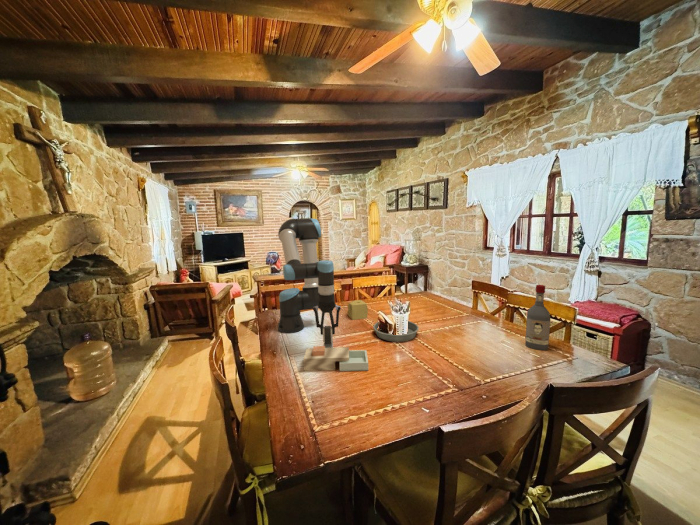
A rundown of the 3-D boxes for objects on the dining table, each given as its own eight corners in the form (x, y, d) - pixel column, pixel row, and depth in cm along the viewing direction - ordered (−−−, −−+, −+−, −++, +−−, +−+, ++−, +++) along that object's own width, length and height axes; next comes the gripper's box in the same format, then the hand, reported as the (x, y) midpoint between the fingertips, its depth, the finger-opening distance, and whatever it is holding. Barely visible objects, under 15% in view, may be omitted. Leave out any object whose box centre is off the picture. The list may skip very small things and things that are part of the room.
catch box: (339, 371, 121) (339, 363, 120) (340, 357, 133) (340, 350, 132) (368, 370, 121) (368, 362, 121) (366, 357, 133) (366, 350, 132)
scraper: (323, 355, 136) (322, 331, 134) (325, 346, 146) (324, 323, 144) (331, 355, 136) (331, 330, 134) (332, 346, 146) (332, 323, 144)
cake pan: (403, 323, 176) (403, 316, 175) (427, 338, 153) (428, 330, 152) (366, 330, 167) (366, 322, 166) (386, 346, 144) (386, 338, 144)
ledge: (304, 371, 122) (303, 358, 121) (307, 359, 132) (306, 348, 131) (349, 369, 122) (348, 357, 121) (349, 358, 132) (348, 347, 131)
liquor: (525, 340, 147) (529, 282, 142) (547, 344, 142) (551, 284, 138) (525, 347, 139) (529, 286, 135) (548, 351, 134) (553, 288, 130)
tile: (312, 355, 124) (312, 351, 123) (313, 350, 129) (313, 346, 128) (324, 355, 124) (324, 351, 123) (325, 350, 129) (325, 346, 128)
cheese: (347, 315, 193) (347, 301, 191) (362, 313, 196) (362, 299, 194) (352, 320, 183) (351, 305, 181) (368, 318, 186) (367, 303, 185)
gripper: (308, 295, 133) (310, 344, 136) (343, 294, 133) (344, 343, 136) (310, 291, 140) (312, 338, 144) (343, 291, 141) (344, 337, 144)
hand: (328, 340), depth 140 cm, fingers closed on scraper, 3 cm apart
